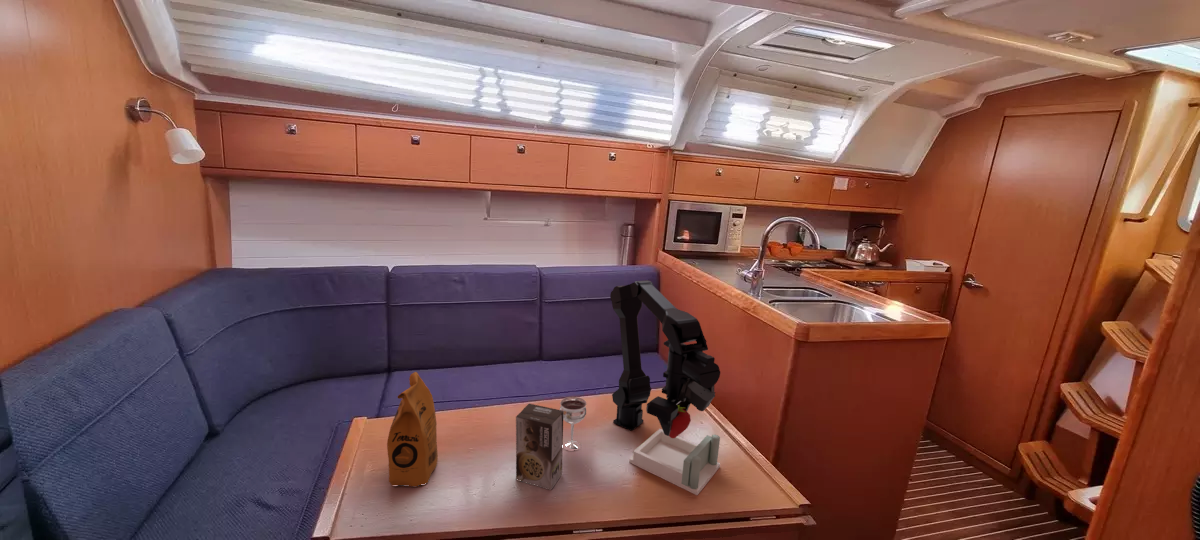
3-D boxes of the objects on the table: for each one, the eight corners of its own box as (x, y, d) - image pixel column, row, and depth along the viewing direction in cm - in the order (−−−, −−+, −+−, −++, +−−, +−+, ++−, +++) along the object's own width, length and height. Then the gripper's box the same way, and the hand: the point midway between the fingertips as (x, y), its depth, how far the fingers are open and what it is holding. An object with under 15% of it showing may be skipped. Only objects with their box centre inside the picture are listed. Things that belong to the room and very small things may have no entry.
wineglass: (553, 449, 114) (555, 406, 111) (565, 435, 120) (567, 394, 117) (578, 456, 111) (580, 412, 109) (589, 442, 117) (591, 400, 115)
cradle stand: (629, 462, 110) (631, 432, 108) (655, 438, 120) (657, 411, 119) (697, 495, 100) (700, 463, 98) (719, 466, 110) (723, 437, 108)
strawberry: (691, 446, 107) (695, 407, 104) (659, 445, 106) (662, 406, 104) (685, 431, 112) (689, 395, 110) (655, 430, 112) (659, 394, 110)
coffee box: (562, 473, 105) (565, 410, 101) (551, 491, 99) (553, 424, 95) (527, 463, 108) (529, 402, 104) (514, 480, 102) (515, 415, 98)
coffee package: (381, 490, 96) (375, 396, 92) (401, 454, 109) (396, 370, 104) (428, 489, 97) (425, 396, 93) (443, 454, 109) (441, 370, 105)
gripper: (694, 394, 93) (687, 461, 97) (727, 366, 108) (720, 425, 112) (647, 378, 100) (642, 441, 103) (685, 353, 115) (679, 409, 118)
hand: (673, 428), depth 109 cm, fingers closed on strawberry, 6 cm apart
